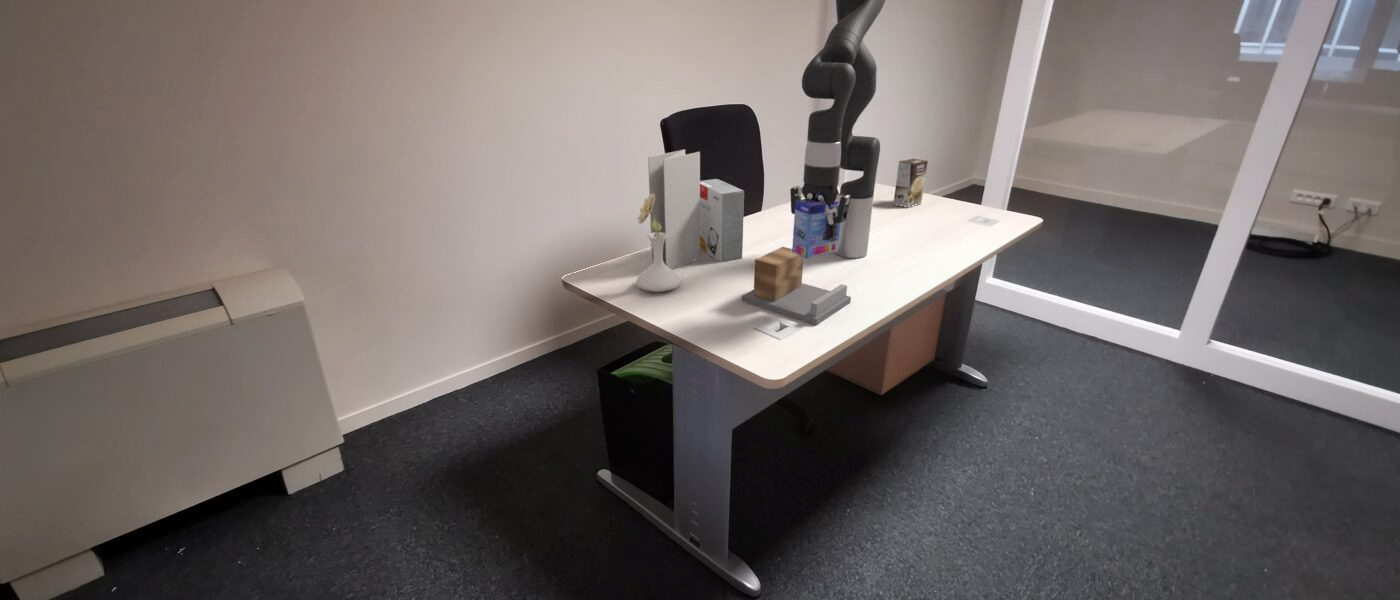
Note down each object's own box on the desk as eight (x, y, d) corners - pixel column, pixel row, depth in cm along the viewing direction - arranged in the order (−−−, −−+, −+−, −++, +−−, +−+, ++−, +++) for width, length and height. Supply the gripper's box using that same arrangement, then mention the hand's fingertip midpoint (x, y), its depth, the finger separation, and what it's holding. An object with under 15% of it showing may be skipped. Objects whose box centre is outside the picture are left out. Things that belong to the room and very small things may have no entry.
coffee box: (907, 208, 225) (913, 164, 219) (892, 204, 230) (898, 161, 223) (921, 204, 230) (928, 160, 224) (906, 200, 235) (912, 157, 228)
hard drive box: (695, 246, 187) (694, 181, 179) (717, 243, 190) (718, 178, 182) (720, 263, 174) (720, 192, 166) (743, 258, 177) (745, 189, 169)
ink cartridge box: (807, 259, 137) (810, 194, 131) (790, 253, 141) (793, 190, 136) (839, 251, 142) (844, 188, 136) (823, 245, 146) (827, 184, 140)
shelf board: (778, 281, 161) (779, 265, 159) (850, 302, 149) (852, 285, 147) (741, 301, 150) (742, 284, 148) (816, 325, 138) (818, 306, 136)
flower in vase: (642, 277, 164) (639, 183, 154) (685, 280, 162) (684, 185, 152) (629, 297, 152) (624, 197, 142) (675, 300, 150) (673, 199, 140)
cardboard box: (781, 280, 158) (782, 246, 154) (801, 286, 154) (803, 251, 151) (753, 294, 149) (754, 259, 146) (774, 301, 146) (776, 265, 142)
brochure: (685, 253, 181) (684, 149, 169) (700, 257, 178) (700, 151, 166) (651, 267, 171) (648, 157, 159) (666, 271, 168) (664, 160, 156)
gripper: (861, 163, 132) (853, 238, 139) (802, 155, 140) (797, 226, 147) (844, 169, 126) (837, 247, 133) (784, 160, 135) (780, 234, 142)
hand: (816, 236), depth 140 cm, fingers closed on ink cartridge box, 6 cm apart
